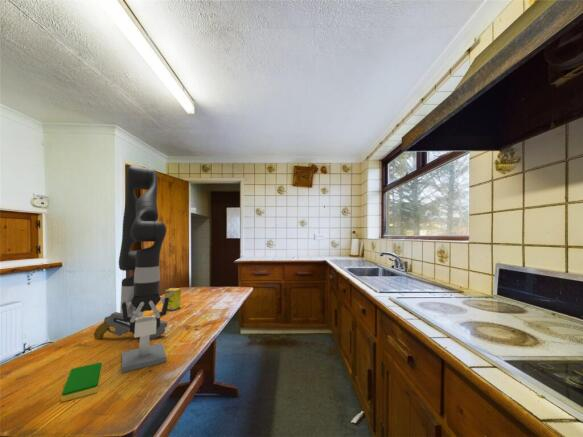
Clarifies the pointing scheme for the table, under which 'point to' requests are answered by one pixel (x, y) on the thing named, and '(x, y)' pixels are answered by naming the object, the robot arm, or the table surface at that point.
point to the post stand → (143, 355)
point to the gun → (122, 326)
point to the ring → (145, 326)
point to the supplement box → (173, 298)
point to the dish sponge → (82, 381)
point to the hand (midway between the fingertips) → (144, 330)
